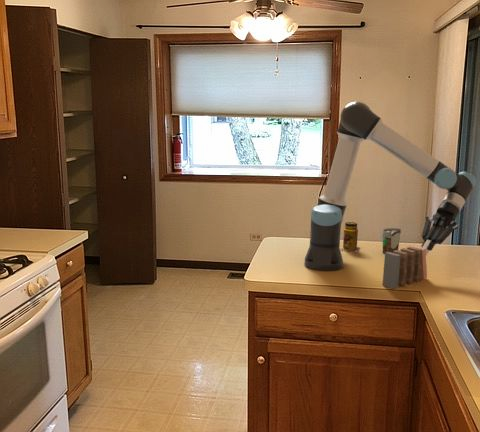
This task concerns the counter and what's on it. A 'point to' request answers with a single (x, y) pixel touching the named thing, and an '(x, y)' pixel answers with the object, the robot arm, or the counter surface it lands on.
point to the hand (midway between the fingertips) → (421, 255)
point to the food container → (390, 239)
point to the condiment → (350, 237)
